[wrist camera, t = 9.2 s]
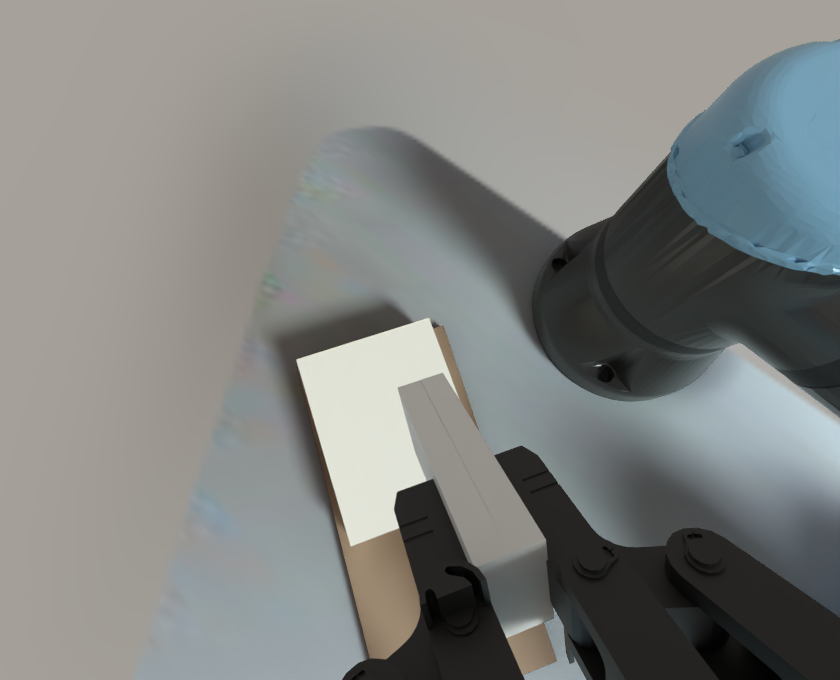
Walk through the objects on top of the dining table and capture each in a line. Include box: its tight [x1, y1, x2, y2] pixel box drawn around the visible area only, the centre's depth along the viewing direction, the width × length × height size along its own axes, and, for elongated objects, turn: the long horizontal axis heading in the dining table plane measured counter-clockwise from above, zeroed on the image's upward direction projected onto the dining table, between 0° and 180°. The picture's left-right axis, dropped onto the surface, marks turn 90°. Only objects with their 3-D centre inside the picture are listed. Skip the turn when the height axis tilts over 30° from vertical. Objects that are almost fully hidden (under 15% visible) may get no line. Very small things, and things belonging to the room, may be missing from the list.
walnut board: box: [297, 326, 557, 675], centre depth 35 cm, size 12×25×1 cm, turn 17°
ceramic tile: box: [296, 318, 459, 546], centre depth 34 cm, size 3×10×13 cm
